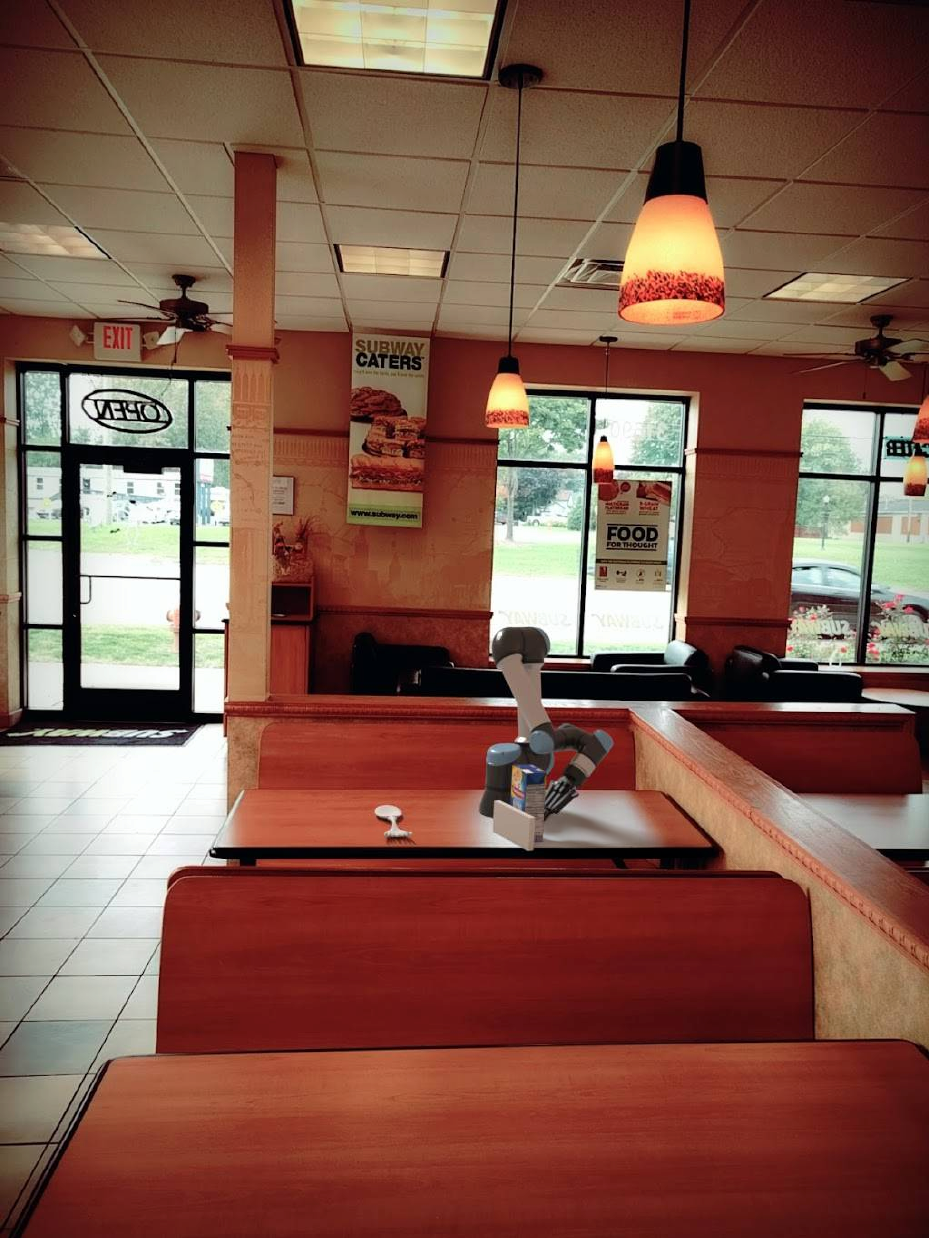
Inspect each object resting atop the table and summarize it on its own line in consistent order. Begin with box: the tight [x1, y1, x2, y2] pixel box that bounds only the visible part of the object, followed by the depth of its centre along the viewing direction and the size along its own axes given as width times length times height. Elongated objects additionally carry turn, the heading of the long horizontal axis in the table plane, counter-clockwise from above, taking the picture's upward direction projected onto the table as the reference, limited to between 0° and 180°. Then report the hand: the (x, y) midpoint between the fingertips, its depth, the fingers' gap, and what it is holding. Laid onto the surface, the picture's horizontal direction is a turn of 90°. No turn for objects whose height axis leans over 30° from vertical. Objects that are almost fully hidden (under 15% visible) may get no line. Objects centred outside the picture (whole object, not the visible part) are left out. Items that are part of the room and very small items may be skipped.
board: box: [492, 800, 535, 852], centre depth 261 cm, size 20×2×10 cm, turn 30°
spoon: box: [374, 804, 413, 838], centre depth 269 cm, size 9×32×4 cm, turn 12°
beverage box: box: [510, 764, 548, 843], centre depth 265 cm, size 7×11×22 cm, turn 20°
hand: (533, 826), depth 265 cm, fingers closed
